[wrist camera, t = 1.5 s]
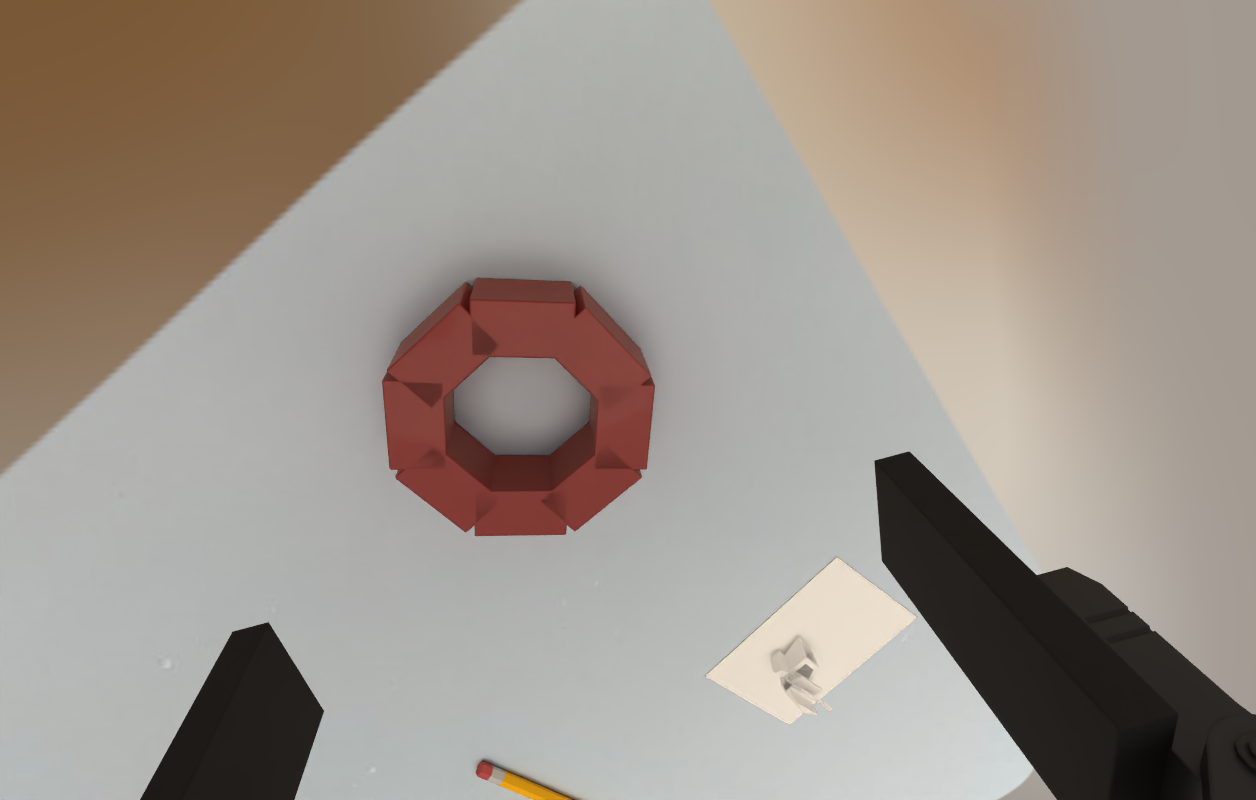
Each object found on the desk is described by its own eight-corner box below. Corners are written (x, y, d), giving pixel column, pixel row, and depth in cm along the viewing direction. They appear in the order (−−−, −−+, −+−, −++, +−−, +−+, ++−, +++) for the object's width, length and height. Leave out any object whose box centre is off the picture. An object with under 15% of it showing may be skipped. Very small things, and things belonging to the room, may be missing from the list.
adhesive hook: (760, 660, 38) (779, 707, 35) (794, 631, 37) (815, 676, 34) (796, 683, 39) (817, 730, 36) (829, 654, 38) (853, 700, 35)
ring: (343, 326, 27) (322, 353, 24) (600, 233, 27) (607, 250, 24) (458, 533, 32) (450, 575, 29) (677, 455, 31) (690, 491, 29)
